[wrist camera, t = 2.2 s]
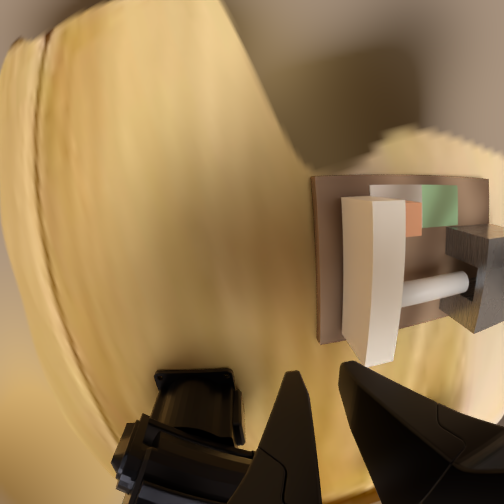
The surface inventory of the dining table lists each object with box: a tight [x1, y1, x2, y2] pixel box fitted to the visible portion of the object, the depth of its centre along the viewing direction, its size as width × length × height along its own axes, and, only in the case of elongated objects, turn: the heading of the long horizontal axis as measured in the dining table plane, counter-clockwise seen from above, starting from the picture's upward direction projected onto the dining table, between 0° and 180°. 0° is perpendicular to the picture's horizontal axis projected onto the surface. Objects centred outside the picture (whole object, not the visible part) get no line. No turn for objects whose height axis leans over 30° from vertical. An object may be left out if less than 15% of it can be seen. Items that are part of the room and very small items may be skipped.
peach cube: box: [405, 200, 422, 237], centre depth 16 cm, size 2×2×3 cm
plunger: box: [341, 196, 469, 367], centre depth 16 cm, size 9×10×4 cm
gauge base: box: [311, 175, 489, 345], centre depth 19 cm, size 17×12×1 cm
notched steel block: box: [439, 224, 504, 334], centre depth 17 cm, size 6×7×5 cm
